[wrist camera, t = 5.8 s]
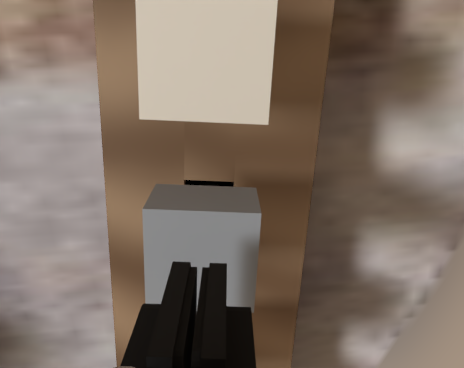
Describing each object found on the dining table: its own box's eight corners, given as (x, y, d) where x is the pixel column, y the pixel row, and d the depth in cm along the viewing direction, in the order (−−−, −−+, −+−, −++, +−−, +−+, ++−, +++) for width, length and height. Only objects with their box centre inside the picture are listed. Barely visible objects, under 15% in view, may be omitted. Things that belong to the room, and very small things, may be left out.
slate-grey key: (170, 157, 19) (142, 208, 13) (250, 160, 19) (261, 213, 13) (170, 230, 20) (145, 309, 14) (246, 233, 20) (253, 312, 14)
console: (116, -38, 19) (88, -60, 15) (318, -27, 19) (340, -46, 15) (137, 407, 28) (123, 462, 25) (272, 411, 29) (278, 465, 25)
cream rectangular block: (169, 2, 17) (134, -26, 11) (260, 7, 17) (279, -19, 11) (169, 96, 18) (139, 119, 12) (254, 99, 18) (268, 124, 12)
